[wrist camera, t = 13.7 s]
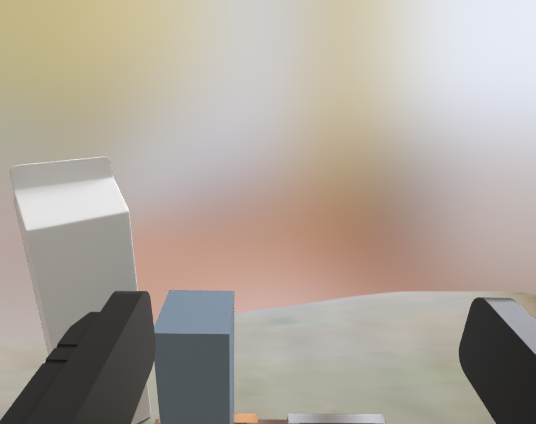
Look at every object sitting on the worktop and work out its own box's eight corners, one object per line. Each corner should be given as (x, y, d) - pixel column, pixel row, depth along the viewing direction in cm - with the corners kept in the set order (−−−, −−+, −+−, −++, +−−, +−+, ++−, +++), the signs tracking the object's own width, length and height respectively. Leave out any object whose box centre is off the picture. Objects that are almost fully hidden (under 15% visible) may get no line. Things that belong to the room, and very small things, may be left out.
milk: (59, 405, 32) (1, 157, 24) (129, 373, 35) (98, 148, 28) (75, 459, 27) (11, 177, 20) (153, 417, 31) (124, 163, 23)
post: (233, 449, 28) (234, 291, 23) (230, 508, 24) (229, 333, 19) (180, 449, 27) (169, 290, 22) (168, 508, 24) (151, 333, 19)
